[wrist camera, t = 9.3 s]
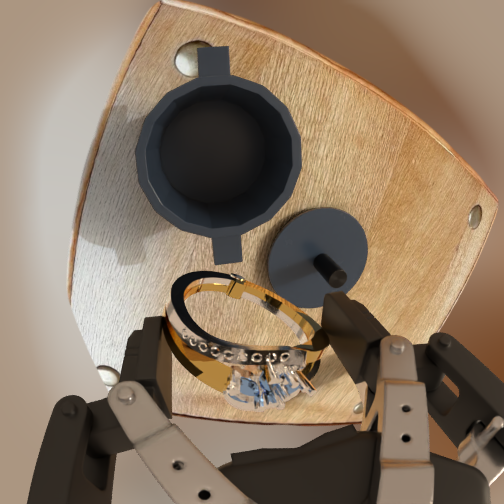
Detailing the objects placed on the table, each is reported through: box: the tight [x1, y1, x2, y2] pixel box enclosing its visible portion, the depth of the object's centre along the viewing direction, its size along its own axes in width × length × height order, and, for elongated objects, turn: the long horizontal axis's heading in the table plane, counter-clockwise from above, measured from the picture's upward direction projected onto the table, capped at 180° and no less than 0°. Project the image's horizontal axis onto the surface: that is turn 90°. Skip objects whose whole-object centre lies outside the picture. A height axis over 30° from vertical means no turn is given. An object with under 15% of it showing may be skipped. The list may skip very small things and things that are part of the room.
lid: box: [267, 207, 368, 308], centre depth 34 cm, size 14×14×6 cm
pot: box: [135, 46, 302, 265], centre depth 25 cm, size 13×18×10 cm
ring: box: [162, 271, 330, 412], centre depth 12 cm, size 7×3×8 cm, turn 64°
